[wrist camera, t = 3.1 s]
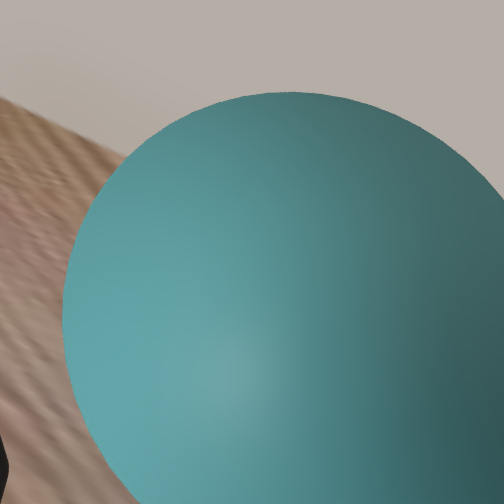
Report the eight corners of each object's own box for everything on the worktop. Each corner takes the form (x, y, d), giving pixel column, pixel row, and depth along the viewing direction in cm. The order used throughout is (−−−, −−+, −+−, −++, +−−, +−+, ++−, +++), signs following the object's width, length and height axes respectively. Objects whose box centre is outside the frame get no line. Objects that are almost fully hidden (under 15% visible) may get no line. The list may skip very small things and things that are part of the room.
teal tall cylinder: (307, 423, 15) (661, 401, 3) (204, 480, 14) (189, 745, 2) (257, 323, 16) (386, 49, 5) (159, 369, 15) (0, 171, 4)
